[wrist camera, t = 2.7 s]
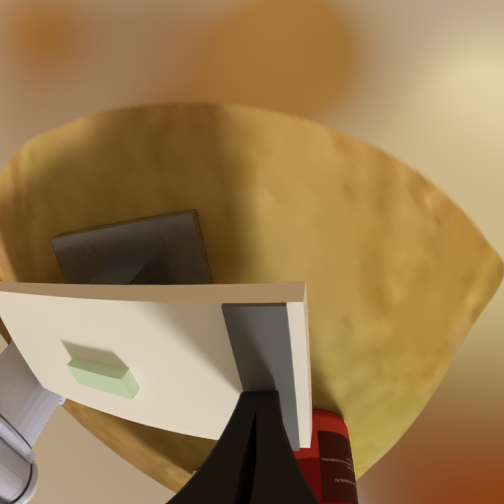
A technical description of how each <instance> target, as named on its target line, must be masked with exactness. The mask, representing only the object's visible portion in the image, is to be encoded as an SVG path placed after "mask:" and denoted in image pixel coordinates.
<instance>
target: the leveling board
mask: <svg viewBox="0 0 504 504" xmlns="http://www.w3.org/2000/svg"><path fill="white" fill-rule="evenodd" d="M0 317H1V319H2V321H3V323H4V324H5V326H6V328H7V330H8V332H9V334H10V336H11V337H12V339H13V341H14V343H15V344H16V346H17V348H18V349H19V351H20V353H21V354H22V356H23V358H24V359H25V361H26V362H27V364H28V365H29V367H30V369H31V370H32V372H33V373H34V375H35V376H36V378H37V379H38V380H39V382H40V383H41V385H42V386H43V388H45V389H47V390H50V391H52V392H54V393H56V394H59V395H61V396H63V397H66V398H68V399H70V400H73V401H75V402H78V403H80V404H83V405H86V406H88V407H91V408H94V409H97V410H99V411H102V412H105V413H108V414H111V415H114V416H117V417H120V418H124V419H127V420H130V421H134V422H137V423H141V424H144V425H148V426H152V427H156V428H160V429H164V430H168V431H173V432H177V433H182V434H187V435H192V436H197V437H202V438H208V439H214V440H219V438H220V436H221V434H222V433H223V431H224V429H225V427H226V425H227V423H228V421H229V419H230V417H231V415H232V413H233V411H234V409H235V406H236V404H237V401H238V399H239V396H240V393H241V392H243V391H263V390H277V391H279V396H280V403H281V409H282V416H283V424H284V427H285V430H286V433H287V436H288V439H289V442H290V445H291V448H292V450H293V451H300V448H310V444H311V435H312V395H311V366H310V344H309V326H308V310H307V295H306V282H285V283H255V284H211V285H88V284H48V283H21V282H0Z"/></svg>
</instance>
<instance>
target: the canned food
mask: <svg viewBox="0 0 504 504" xmlns="http://www.w3.org/2000/svg"><path fill="white" fill-rule="evenodd" d="M293 453H294V455H295V457H296V460H297V462H298V464H299V466H300V468H301V471H302V473H303V474H304V476H305V478H306V480H307V482H308V484H309V486H310V488H311V489H312V491H313V493H314V495H315V496H316V498H317V499H318V501H319V503H320V504H358V496H357V488H356V480H355V473H354V466H353V459H352V453H351V446H350V440H349V434H348V429H347V426H346V425H345V423H344V421H343V420H342V419H341V417H339V416H338V415H337V414H334V413H332V412H329V411H324V410H315V409H312V435H311V444H310V448H300V451H293Z"/></svg>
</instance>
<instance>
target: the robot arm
mask: <svg viewBox="0 0 504 504" xmlns="http://www.w3.org/2000/svg"><path fill="white" fill-rule="evenodd" d="M65 400H66V397H63V396H61V395H59V394H56V393H54V392H52V391H50V390H47V389H45V388H43V386H42V385H41V383H40V382H39V380H38V379H37V378H36V376H35V375H34V373H33V372H32V370H31V369H30V367H29V365H28V364H27V362H26V361H25V359H24V358H23V356H22V354H21V353H20V351H19V349H18V348H17V346H16V344H15V343H14V341H13V339H12V340H11V343H10V344H9V345H8V347H7V348H6V349H5V350H4V351H3V352H2V353H1V354H0V504H26V503H27V502H28V501H29V500H30V499H31V498H32V496H33V495H34V493H35V490H36V488H37V484H38V469H37V465H36V463H35V461H34V459H35V457H36V453H35V452H34V451H33V450H31V449H32V447H33V445H34V443H35V442H36V440H37V438H38V436H39V435H40V433H41V431H42V430H43V428H44V426H45V424H46V423H47V421H48V419H49V418H50V416H51V414H52V413H53V411H54V410H55V408H56V406H57V405H58V404H59V405H62V404H63V403H64V401H65ZM166 504H320V503H319V501H318V499H317V498H316V496H315V495H314V493H313V491H312V489H311V488H310V486H309V484H308V482H307V480H306V478H305V476H304V474H303V473H302V471H301V468H300V466H299V464H298V462H297V460H296V457H295V455H294V453H293V450H292V448H291V445H290V442H289V439H288V436H287V433H286V430H285V427H284V424H283V416H282V409H281V403H280V396H279V391H277V390H263V391H243V392H241V393H240V396H239V399H238V401H237V404H236V406H235V409H234V411H233V413H232V415H231V417H230V419H229V421H228V423H227V425H226V427H225V429H224V431H223V433H222V434H221V436H220V438H219V440H218V441H217V443H216V444H215V446H214V448H213V449H212V451H211V452H210V454H209V455H208V457H207V458H206V460H205V461H204V462H203V464H202V465H201V466H200V468H199V469H198V470H197V472H196V473H195V474H194V475H193V476H192V478H191V479H190V480H189V481H188V482H187V483H186V484H185V485H184V487H183V488H182V489H181V490H180V491H179V492H178V493H177V494H176V495H175V496H174V497H173V498H171V499H170V500H169V501H168V502H167V503H166Z"/></svg>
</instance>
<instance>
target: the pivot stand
mask: <svg viewBox="0 0 504 504" xmlns="http://www.w3.org/2000/svg"><path fill="white" fill-rule="evenodd" d="M51 243H52V246H53V249H54V252H55V255H56V258H57V260H58V263H59V266H60V268H61V271H62V274H63V276H64V279H65V281H66V284H88V285H211V284H213V282H212V278H211V274H210V270H209V266H208V261H207V257H206V253H205V248H204V244H203V239H202V235H201V230H200V226H199V221H198V216H197V211H196V209H195V210H189V211H182V212H176V213H170V214H164V215H158V216H152V217H147V218H141V219H136V220H130V221H125V222H119V223H114V224H109V225H104V226H99V227H94V228H89V229H84V230H79V231H75V232H70V233H65V234H61V235H57V236H55V237H54V238H52V239H51Z"/></svg>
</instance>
